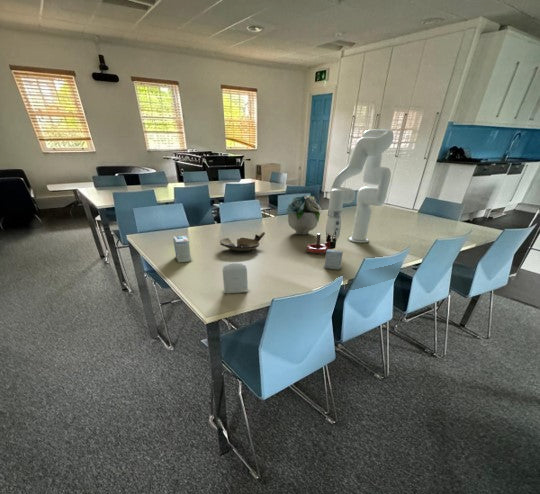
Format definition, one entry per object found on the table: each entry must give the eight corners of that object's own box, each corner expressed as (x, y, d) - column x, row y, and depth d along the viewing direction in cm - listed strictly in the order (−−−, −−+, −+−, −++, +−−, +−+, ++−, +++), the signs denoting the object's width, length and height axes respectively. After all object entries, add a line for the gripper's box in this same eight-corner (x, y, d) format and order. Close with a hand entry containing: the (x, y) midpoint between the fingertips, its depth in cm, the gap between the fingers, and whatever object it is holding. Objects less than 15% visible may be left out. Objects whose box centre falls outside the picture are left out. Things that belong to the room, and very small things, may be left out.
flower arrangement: (321, 238, 211) (326, 198, 196) (285, 237, 211) (287, 197, 196) (317, 229, 231) (321, 192, 217) (284, 228, 231) (286, 191, 217)
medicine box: (340, 267, 162) (343, 250, 157) (339, 270, 159) (341, 253, 154) (325, 265, 164) (327, 248, 159) (324, 268, 161) (326, 251, 156)
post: (310, 248, 190) (312, 231, 184) (326, 250, 187) (329, 232, 181) (306, 253, 182) (308, 234, 176) (323, 255, 179) (325, 236, 173)
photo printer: (224, 294, 131) (222, 265, 124) (223, 290, 134) (221, 262, 127) (248, 293, 133) (247, 264, 125) (247, 289, 136) (246, 261, 129)
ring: (311, 253, 178) (312, 246, 175) (304, 247, 187) (304, 240, 185) (337, 251, 182) (338, 244, 179) (328, 246, 191) (329, 239, 189)
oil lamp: (215, 246, 189) (214, 233, 184) (262, 243, 198) (262, 230, 193) (224, 257, 172) (223, 243, 167) (274, 253, 181) (275, 239, 176)
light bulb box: (175, 256, 171) (172, 236, 164) (187, 255, 173) (185, 235, 167) (178, 262, 163) (175, 241, 156) (191, 261, 165) (189, 240, 159)
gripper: (347, 216, 169) (342, 250, 180) (333, 211, 182) (329, 242, 193) (335, 217, 167) (330, 251, 178) (322, 211, 180) (318, 243, 191)
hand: (330, 246), depth 185 cm, fingers open, 5 cm apart
